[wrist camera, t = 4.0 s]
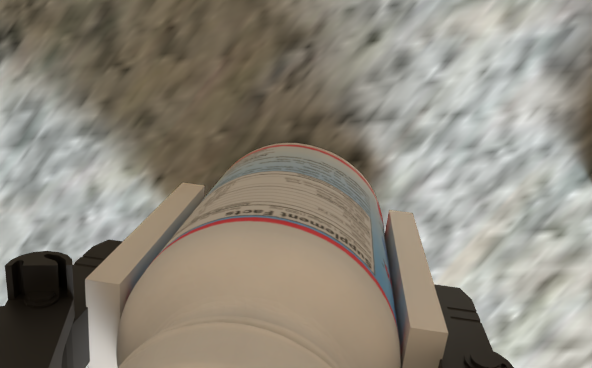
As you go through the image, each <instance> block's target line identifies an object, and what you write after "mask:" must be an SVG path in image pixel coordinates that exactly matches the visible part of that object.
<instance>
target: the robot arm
mask: <svg viewBox="0 0 592 368" xmlns="http://www.w3.org/2000/svg"><path fill="white" fill-rule="evenodd" d="M204 192H205V185H198V184H191V183H182V184H181V185H180V186H178V187H177V188H176V189H175V190H174V191H173V192H172V193H171V194H170V195H169V196H168V197H167V198H166V199H165V200H164V201H163V202H162V203H161V204H160V205H159V206H158V207H157V208H156V209H155V210H154V211H153V212H152V213H151V214H150V215H149V216H148V217H147V218H146V219H145V220H144V221H143V222H142V223H141V224H140V225H139V226H138V227H137V228H136V229H135V230H134V231H133V232H132V233H131V234H130V235H129V236H128V237H127V238H126V239H125V240H124V241H123V242H122V241H115V240H107V241H104V242H102V243H100V244H98V245H95V246H93V247H92V248H91V249H90V250H88V251H87V252H86V253H85V254H84V255H83V257H81V258H80V259H78V260H77V261H76V262H75V264H74V265H72V259H71V258H70V257H69V256H68V255H66V254H63V253H59V252H51V251H42V252H33V253H28V254H24V255H21V256H19V257H17V258H14V259H12V260H11V261H10V262H8V263H7V264H6V265H5V271H6V282H7V292H8V301H7V303H6V304H5V306H0V368H85V367H86V366H87V365H88V368H118V367H117V358H116V345H117V335H118V328H119V323H120V319H121V316H122V312H123V310H124V307H125V304H126V302H127V300H128V297H129V295H130V293H131V292H132V290H133V288H134V286H135V285H136V283H137V282H138V281H139V279H140V278H141V276H142V275H143V274H144V272H145V271H146V269H147V268H148V266H149V265H150V264H151V263H152V261H153V260H154V259H155V258H156V257H157V255H158V254H159V253H160V252H161V251H162V249H163V248H164V247H165V245H166V244H167V243H168V242H169V241H170V239H171V238H172V237H173V236H174V235H175V233H176V232H177V231H178V230H179V228H180V227H181V226H182V225H183V224H184V222H185V221H186V220H187V219H188V217H189V216H190V215H191V214H192V213H193V211H194V210H195V209H196V208H197V206H198V205H199V204H200V203H201V202H202V200H203V199H204ZM385 242H386V249H387V255H388V262H389V270H390V277H391V281H392V290H393V295H394V305H395V312H396V320H397V327H398V335H399V341H400V361H401V368H514V367H513V366H512V365H511V364H510V363H509V361H508V360H506V359H505V358H504V357H502V356H501V355H499V354H498V353H496V352H493V350H492V348H491V345H490V343H489V340H488V338H487V335H486V333H485V331H484V328H483V326H482V323H480V319H479V316H478V314H477V313H476V309H475V306H474V304H473V302H472V299H471V298H470V297H468V296H467V295H466V294H465V293H464V292H463V291H462V290H461V289H460V288H455V287H448V286H441V285H434V283H433V280H432V276H431V273H430V270H429V266H428V263H427V260H426V256H425V253H424V250H423V246H422V243H421V239H420V236H419V233H418V229H417V226H416V223H415V219H414V216H413V213H408V212H401V211H393V210H389V214H388V220H387V225H386V231H385Z"/></svg>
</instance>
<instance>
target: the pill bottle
mask: <svg viewBox="0 0 592 368" xmlns="http://www.w3.org/2000/svg"><path fill="white" fill-rule="evenodd" d="M116 358H117V367H118V368H401V361H400V341H399V335H398V327H397V320H396V312H395V305H394V295H393V290H392V281H391V277H390V270H389V262H388V255H387V249H386V242H385V233H384V226H383V219H382V214H381V210H380V206H379V202H378V200H377V197H376V195H375V193H374V191H373V189H372V187H371V186H370V184H369V182H368V181H367V180H366V178H365V177H364V176H363V175H362V174H361V173H360V172H359V171H358V170H357V169H356V168H355V167H354V166H353V165H351V164H350V163H349V162H347V161H346V160H345V159H343V158H341V157H339V156H338V155H336V154H334V153H332V152H329V151H327V150H325V149H322V148H319V147H315V146H311V145H307V144H300V143H277V144H272V145H268V146H265V147H262V148H259V149H256V150H254V151H252V152H250V153H248V154H247V155H245V156H243V157H242V158H240V159H239V160H238V161H237V162H235V163H234V164H233V165H232V166H231V167H230V168H229V169H228V170H227V171H226V172H225V174H224V175H223V176H222V177H221V179H220V180H219V181H218V182H217V183H216V185H215V186H214V187H213V188H212V189H211V191H210V192H209V193H208V194H207V195H206V197H205V198H204V199H203V200H202V202H201V203H200V204H199V205H198V206H197V208H196V209H195V210H194V211H193V213H192V214H191V215H190V216H189V217H188V219H187V220H186V221H185V222H184V224H183V225H182V226H181V227H180V228H179V230H178V231H177V232H176V233H175V235H174V236H173V237H172V238H171V239H170V241H169V242H168V243H167V244H166V245H165V247H164V248H163V249H162V251H161V252H160V253H159V254H158V255H157V257H156V258H155V259H154V260H153V261H152V263H151V264H150V265H149V266H148V268H147V269H146V271H145V272H144V274H143V275H142V276H141V278H140V279H139V281H138V282H137V283H136V285H135V286H134V288H133V290H132V292H131V293H130V295H129V297H128V300H127V302H126V304H125V307H124V310H123V312H122V316H121V319H120V323H119V328H118V335H117V345H116Z"/></svg>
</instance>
